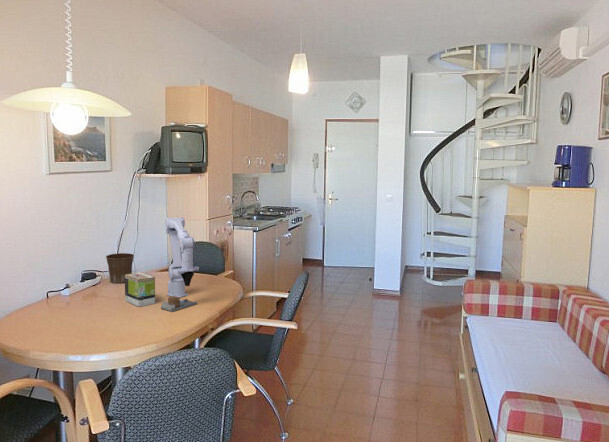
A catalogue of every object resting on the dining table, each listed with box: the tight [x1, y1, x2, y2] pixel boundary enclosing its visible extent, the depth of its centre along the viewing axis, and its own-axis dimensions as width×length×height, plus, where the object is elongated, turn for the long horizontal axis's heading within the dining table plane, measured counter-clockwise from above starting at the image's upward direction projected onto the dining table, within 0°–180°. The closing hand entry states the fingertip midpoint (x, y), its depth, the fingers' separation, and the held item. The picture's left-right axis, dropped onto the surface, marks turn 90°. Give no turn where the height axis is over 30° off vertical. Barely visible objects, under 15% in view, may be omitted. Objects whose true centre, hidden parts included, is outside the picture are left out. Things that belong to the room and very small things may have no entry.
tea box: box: [124, 271, 156, 307], centre depth 252 cm, size 15×10×15 cm
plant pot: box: [105, 252, 135, 285], centre depth 293 cm, size 16×16×16 cm
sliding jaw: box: [179, 298, 185, 306], centre depth 246 cm, size 6×2×3 cm, turn 56°
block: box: [167, 296, 180, 308], centre depth 243 cm, size 4×4×5 cm
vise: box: [160, 298, 198, 313], centre depth 246 cm, size 8×17×3 cm, turn 146°
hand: (187, 285), depth 250 cm, fingers closed
